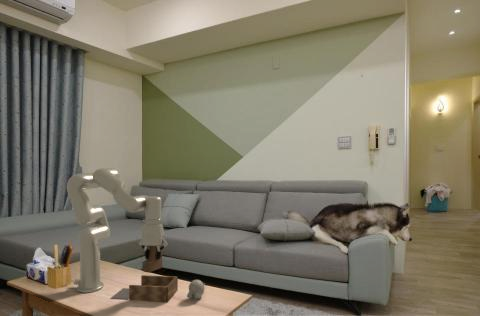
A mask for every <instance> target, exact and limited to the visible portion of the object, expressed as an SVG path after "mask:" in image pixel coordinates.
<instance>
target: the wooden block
mask: <svg viewBox="0 0 480 316" xmlns="http://www.w3.org/2000/svg"><path fill="white" fill-rule="evenodd" d="M161 246H163V244H161ZM157 252H158V249H157V246H149V257H148V259H145V261H143V262H142V267H141V268H142V272H144V273H148V274H149V273H152V272H154V271H157V270H159V269H162V268H163V249H162V250H161V258H160V259H159V260H157Z"/></svg>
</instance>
